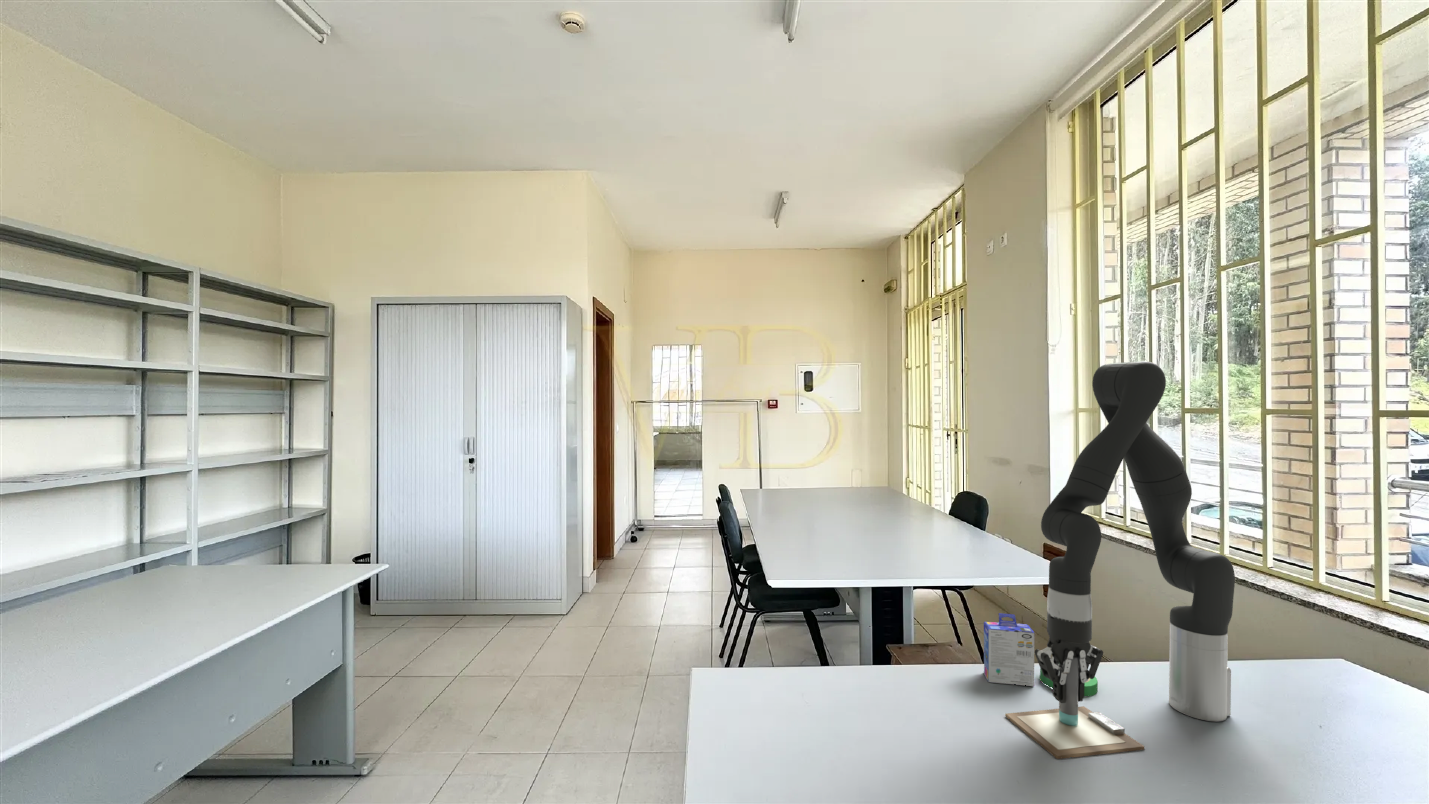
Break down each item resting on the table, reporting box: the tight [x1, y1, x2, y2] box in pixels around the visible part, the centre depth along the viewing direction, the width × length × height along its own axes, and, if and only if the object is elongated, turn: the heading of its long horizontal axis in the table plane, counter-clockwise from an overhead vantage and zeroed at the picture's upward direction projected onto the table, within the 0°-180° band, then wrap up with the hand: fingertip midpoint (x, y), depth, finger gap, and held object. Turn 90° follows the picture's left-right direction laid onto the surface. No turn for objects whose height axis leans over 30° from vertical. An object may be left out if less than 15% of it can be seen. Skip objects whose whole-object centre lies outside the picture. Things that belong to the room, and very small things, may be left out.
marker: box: [1058, 657, 1079, 726], centre depth 114 cm, size 3×3×13 cm
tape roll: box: [1039, 668, 1099, 697], centre depth 131 cm, size 11×11×3 cm
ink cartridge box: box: [983, 612, 1035, 687], centre depth 133 cm, size 10×6×14 cm, turn 78°
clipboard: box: [1004, 705, 1145, 760], centre depth 112 cm, size 18×14×2 cm
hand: (1068, 699), depth 114 cm, fingers closed on marker, 3 cm apart
